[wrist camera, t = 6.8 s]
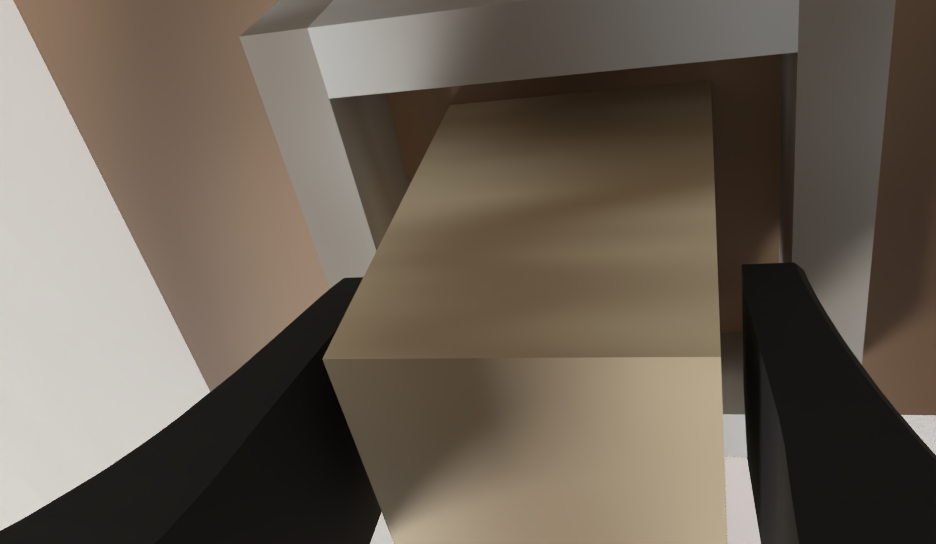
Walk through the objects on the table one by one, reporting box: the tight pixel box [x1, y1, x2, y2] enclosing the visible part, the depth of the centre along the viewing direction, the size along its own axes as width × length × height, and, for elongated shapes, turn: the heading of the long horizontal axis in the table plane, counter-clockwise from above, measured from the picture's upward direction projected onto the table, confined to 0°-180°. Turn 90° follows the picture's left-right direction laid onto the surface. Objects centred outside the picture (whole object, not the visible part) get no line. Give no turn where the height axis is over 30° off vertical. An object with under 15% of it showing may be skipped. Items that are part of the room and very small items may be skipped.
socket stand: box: [14, 0, 936, 457], centre depth 14 cm, size 18×10×3 cm, turn 102°
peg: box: [322, 81, 727, 544], centre depth 12 cm, size 4×4×6 cm
